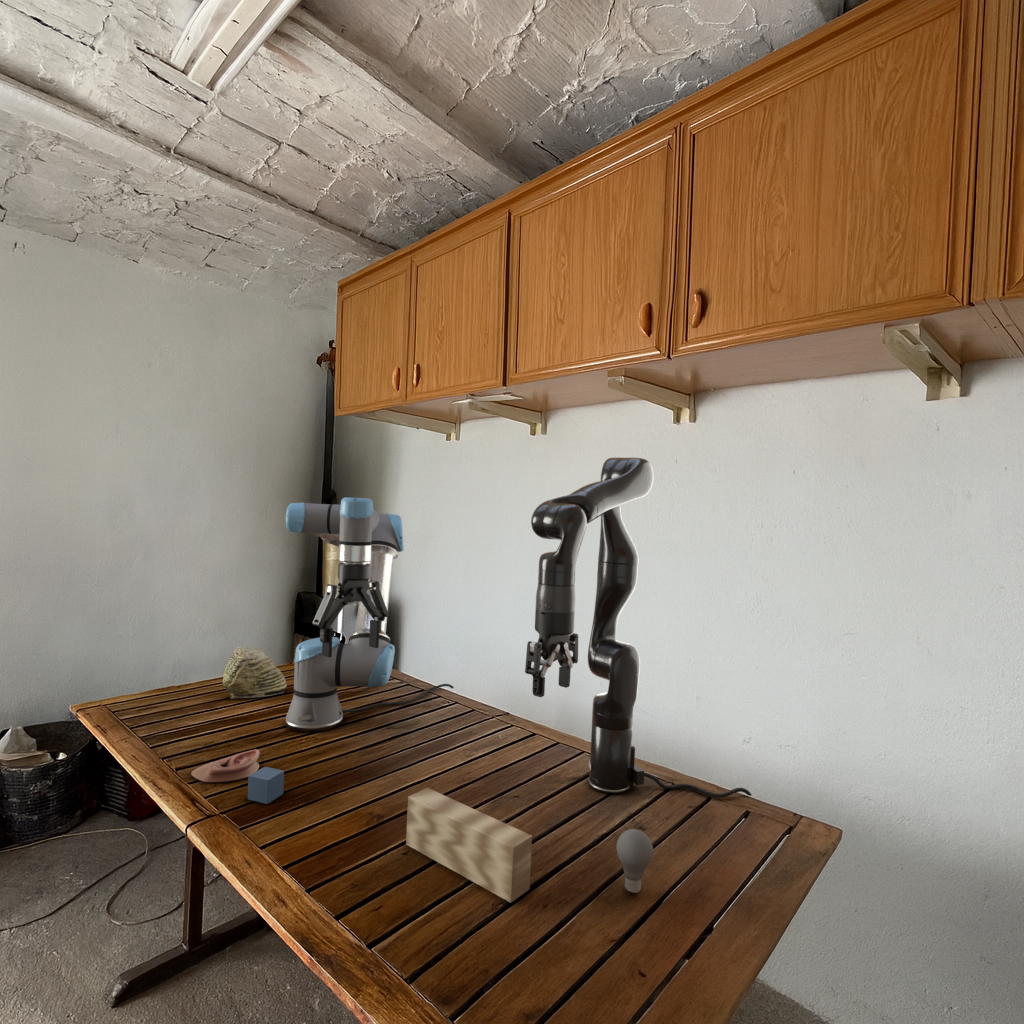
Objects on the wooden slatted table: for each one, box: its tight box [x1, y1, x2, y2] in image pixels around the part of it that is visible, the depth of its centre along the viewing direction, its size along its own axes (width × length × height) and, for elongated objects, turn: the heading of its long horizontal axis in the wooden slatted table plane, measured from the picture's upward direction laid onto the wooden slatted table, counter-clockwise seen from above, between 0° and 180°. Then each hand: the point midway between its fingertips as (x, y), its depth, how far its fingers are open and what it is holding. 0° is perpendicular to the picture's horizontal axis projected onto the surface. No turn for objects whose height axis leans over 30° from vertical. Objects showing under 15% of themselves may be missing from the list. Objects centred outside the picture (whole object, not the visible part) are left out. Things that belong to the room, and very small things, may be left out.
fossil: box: [222, 646, 288, 699], centre depth 198 cm, size 9×18×15 cm, turn 132°
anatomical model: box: [190, 748, 261, 783], centre depth 143 cm, size 13×4×12 cm
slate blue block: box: [247, 766, 285, 805], centre depth 133 cm, size 5×5×5 cm
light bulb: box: [615, 828, 654, 894], centre depth 106 cm, size 6×6×10 cm
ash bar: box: [405, 787, 533, 904], centre depth 111 cm, size 25×5×9 cm, turn 51°
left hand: (351, 651), depth 151 cm, fingers open, 13 cm apart
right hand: (551, 691), depth 122 cm, fingers open, 8 cm apart
